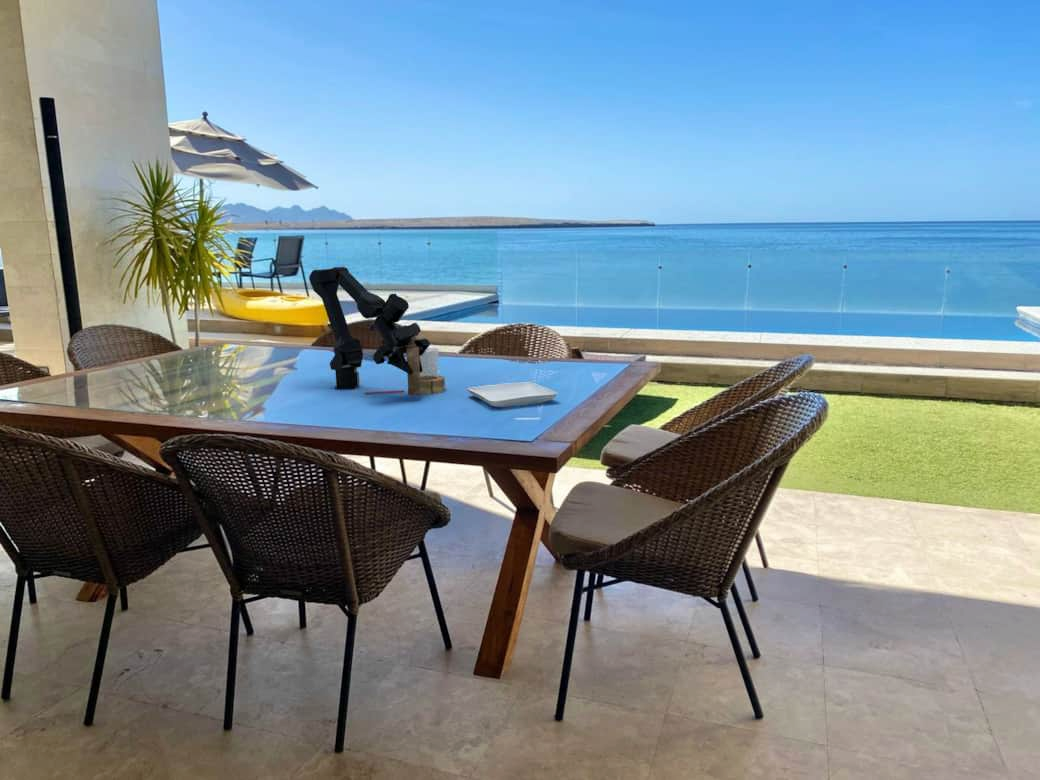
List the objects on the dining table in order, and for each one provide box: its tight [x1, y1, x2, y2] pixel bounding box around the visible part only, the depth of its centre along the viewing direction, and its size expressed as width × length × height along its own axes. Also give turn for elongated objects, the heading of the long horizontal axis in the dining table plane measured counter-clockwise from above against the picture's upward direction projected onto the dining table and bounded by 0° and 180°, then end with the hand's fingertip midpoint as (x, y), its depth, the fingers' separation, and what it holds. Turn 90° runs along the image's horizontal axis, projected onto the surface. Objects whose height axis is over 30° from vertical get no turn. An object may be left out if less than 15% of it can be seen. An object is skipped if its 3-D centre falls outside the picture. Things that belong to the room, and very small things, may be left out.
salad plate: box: [467, 381, 559, 408], centre depth 227 cm, size 21×21×3 cm
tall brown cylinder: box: [406, 342, 422, 396], centre depth 228 cm, size 4×4×15 cm
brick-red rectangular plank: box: [364, 389, 405, 395], centre depth 240 cm, size 12×1×1 cm, turn 100°
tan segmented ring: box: [420, 374, 446, 395], centre depth 242 cm, size 10×10×4 cm
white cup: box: [420, 347, 439, 376], centre depth 261 cm, size 8×8×10 cm
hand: (416, 372), depth 227 cm, fingers closed on tall brown cylinder, 4 cm apart
